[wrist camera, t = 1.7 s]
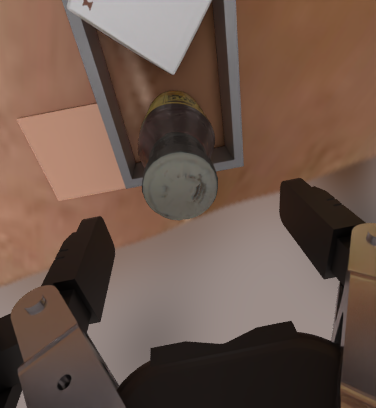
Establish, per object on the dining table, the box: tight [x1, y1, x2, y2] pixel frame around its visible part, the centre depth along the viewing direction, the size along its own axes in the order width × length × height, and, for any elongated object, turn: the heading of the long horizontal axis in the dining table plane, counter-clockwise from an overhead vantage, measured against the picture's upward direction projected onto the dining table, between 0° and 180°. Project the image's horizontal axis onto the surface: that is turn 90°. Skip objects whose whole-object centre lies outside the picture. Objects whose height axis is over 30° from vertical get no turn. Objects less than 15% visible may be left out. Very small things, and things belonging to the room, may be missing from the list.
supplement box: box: [67, 0, 212, 75], centre depth 19 cm, size 7×7×13 cm
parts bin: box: [62, 0, 244, 189], centre depth 25 cm, size 14×22×5 cm, turn 10°
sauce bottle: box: [138, 91, 218, 220], centre depth 21 cm, size 7×6×20 cm
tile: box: [16, 103, 126, 201], centre depth 31 cm, size 11×11×1 cm
